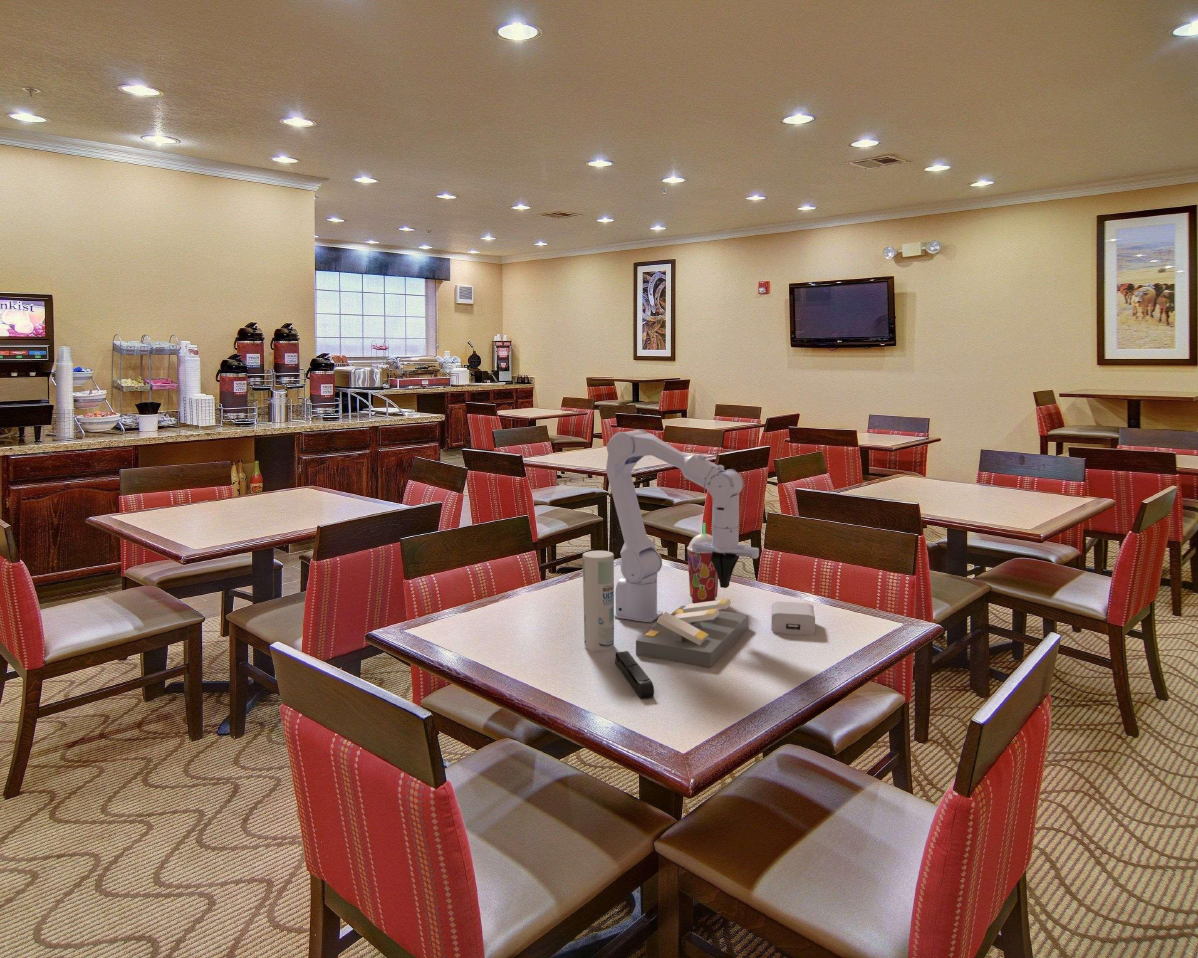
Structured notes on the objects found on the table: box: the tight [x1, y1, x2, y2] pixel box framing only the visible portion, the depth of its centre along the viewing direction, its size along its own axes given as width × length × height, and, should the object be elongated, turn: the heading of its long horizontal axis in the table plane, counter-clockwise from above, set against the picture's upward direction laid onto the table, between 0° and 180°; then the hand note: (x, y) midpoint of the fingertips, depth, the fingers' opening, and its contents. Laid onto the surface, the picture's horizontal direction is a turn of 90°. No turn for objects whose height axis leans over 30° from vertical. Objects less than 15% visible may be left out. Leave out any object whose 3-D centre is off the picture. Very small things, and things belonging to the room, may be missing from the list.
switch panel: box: [635, 605, 750, 668], centre depth 162 cm, size 16×26×4 cm, turn 153°
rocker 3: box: [683, 598, 732, 613], centre depth 169 cm, size 10×4×1 cm, turn 62°
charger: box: [771, 601, 816, 636], centre depth 173 cm, size 5×9×15 cm
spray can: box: [582, 550, 615, 652], centre depth 159 cm, size 6×6×20 cm
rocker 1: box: [656, 611, 708, 645], centre depth 155 cm, size 10×4×1 cm, turn 64°
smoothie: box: [686, 522, 719, 603], centre depth 190 cm, size 8×8×20 cm
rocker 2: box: [674, 609, 720, 623], centre depth 162 cm, size 10×4×1 cm, turn 62°
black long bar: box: [614, 650, 655, 700], centre depth 142 cm, size 18×3×3 cm, turn 14°
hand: (724, 586), depth 166 cm, fingers closed
